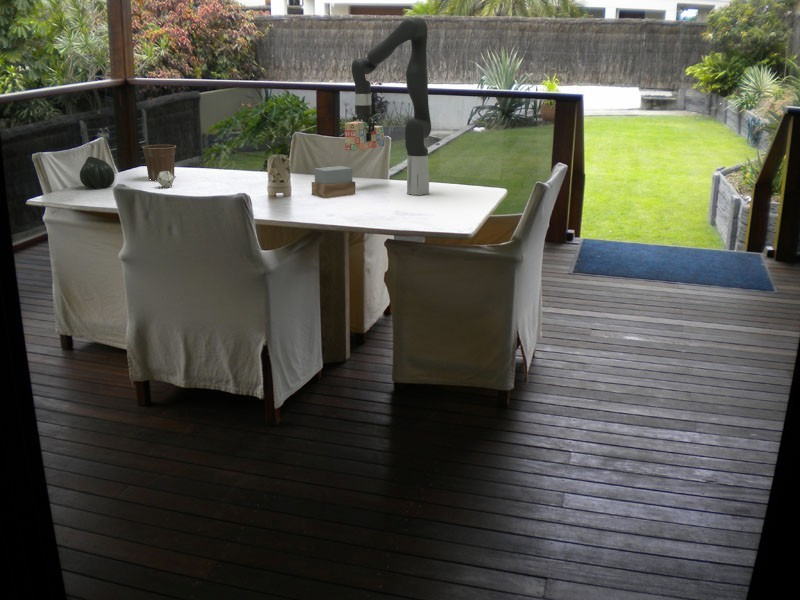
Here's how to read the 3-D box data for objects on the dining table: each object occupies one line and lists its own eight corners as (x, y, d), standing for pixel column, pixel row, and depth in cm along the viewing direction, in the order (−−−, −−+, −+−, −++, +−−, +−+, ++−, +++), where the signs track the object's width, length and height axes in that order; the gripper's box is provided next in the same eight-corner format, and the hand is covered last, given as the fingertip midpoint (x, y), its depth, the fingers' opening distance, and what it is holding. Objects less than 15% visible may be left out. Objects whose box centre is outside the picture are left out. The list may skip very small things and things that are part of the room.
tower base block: (355, 195, 380) (355, 181, 378) (325, 199, 371) (324, 185, 369) (341, 191, 388) (341, 178, 386) (311, 195, 379) (311, 182, 377)
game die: (162, 195, 395) (147, 178, 392) (172, 186, 402) (158, 169, 398) (173, 188, 390) (158, 170, 387) (183, 178, 396) (168, 161, 393)
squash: (123, 175, 392) (108, 149, 395) (94, 181, 381) (78, 154, 384) (113, 193, 402) (98, 167, 404) (84, 199, 391) (69, 172, 393)
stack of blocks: (374, 145, 403) (373, 119, 399) (384, 146, 399) (384, 119, 396) (345, 150, 386) (344, 122, 383) (355, 150, 383) (355, 123, 379)
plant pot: (152, 176, 426) (150, 143, 421) (183, 177, 424) (181, 144, 419) (139, 181, 411) (136, 147, 406) (170, 182, 408) (168, 148, 404)
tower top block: (352, 181, 378) (352, 168, 376) (324, 184, 370) (324, 170, 368) (342, 179, 385) (341, 165, 383) (314, 181, 377) (314, 168, 376)
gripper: (379, 104, 383) (379, 141, 388) (360, 102, 394) (361, 138, 399) (365, 105, 379) (366, 142, 384) (347, 103, 389) (348, 140, 394)
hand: (363, 140), depth 391 cm, fingers closed on stack of blocks, 7 cm apart
